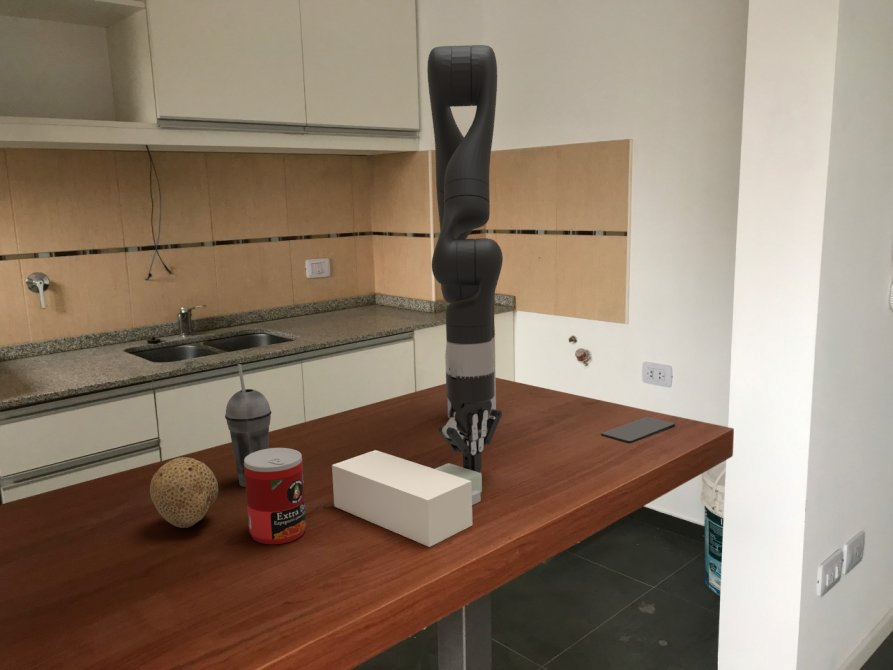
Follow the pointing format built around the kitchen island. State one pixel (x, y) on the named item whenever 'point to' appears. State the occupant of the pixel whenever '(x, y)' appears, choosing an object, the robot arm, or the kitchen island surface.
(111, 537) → the kitchen island surface
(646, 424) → the smartphone
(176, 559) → the kitchen island surface
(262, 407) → the beverage cup
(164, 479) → the natural sponge
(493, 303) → the robot arm
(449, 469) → the sage green bar
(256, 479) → the canned food
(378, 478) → the cream rectangular prism
